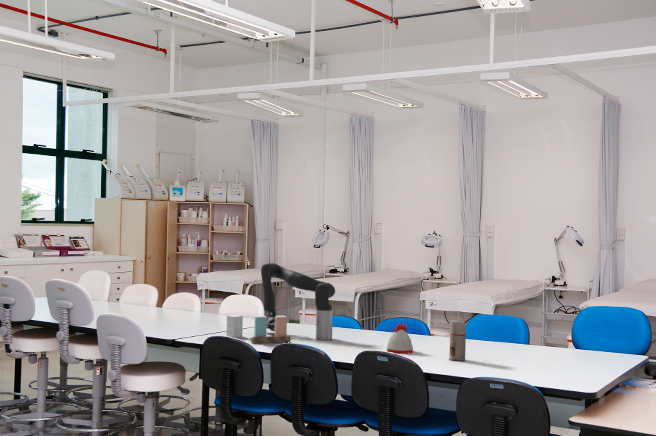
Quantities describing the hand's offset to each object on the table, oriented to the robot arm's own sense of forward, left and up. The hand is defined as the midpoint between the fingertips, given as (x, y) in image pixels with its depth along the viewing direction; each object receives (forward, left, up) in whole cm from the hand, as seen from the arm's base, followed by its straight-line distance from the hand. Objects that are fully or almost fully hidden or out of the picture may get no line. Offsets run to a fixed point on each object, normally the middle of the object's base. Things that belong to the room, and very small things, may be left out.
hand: (278, 328), depth 378 cm
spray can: (-81, +67, -8) cm, 106 cm away
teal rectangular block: (+12, +9, -6) cm, 16 cm away
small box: (+24, -14, -8) cm, 29 cm away
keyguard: (+6, +7, -7) cm, 12 cm away
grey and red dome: (-60, +40, -8) cm, 73 cm away
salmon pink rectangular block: (0, +9, -6) cm, 11 cm away
